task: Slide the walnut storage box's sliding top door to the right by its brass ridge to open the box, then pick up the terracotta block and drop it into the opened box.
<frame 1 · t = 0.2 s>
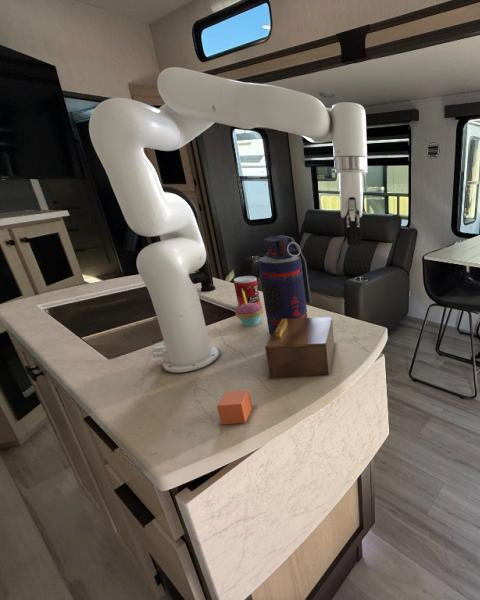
hand: (354, 240, 79), 31 cm above the countertop, tool pointing down, fingers open, 9 cm apart
block: (237, 415, 64), on the countertop
canned food: (249, 306, 122), on the countertop
grenade: (292, 332, 101), on the countertop
cupcake: (251, 323, 107), on the countertop
sliding door: (301, 328, 82), point 9 cm above the countertop, slide at 0.0 cm
storage box: (305, 359, 85), on the countertop
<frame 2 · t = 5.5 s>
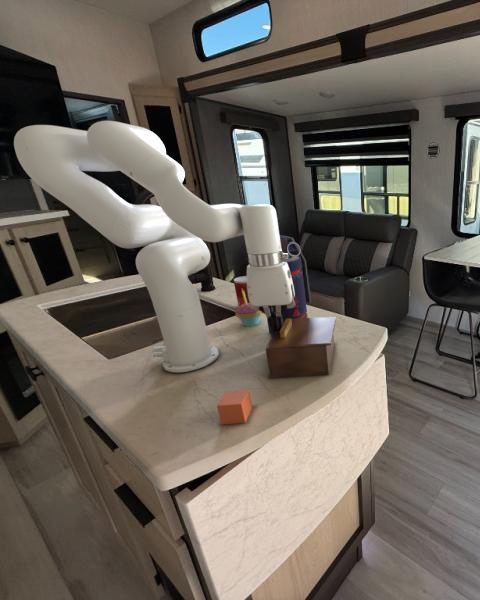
hand: (277, 329, 81), 9 cm above the countertop, tool pointing down, fingers closed
sliding door: (306, 327, 82), point 9 cm above the countertop, slide at 1.1 cm, touching gripper
everything else where it was.
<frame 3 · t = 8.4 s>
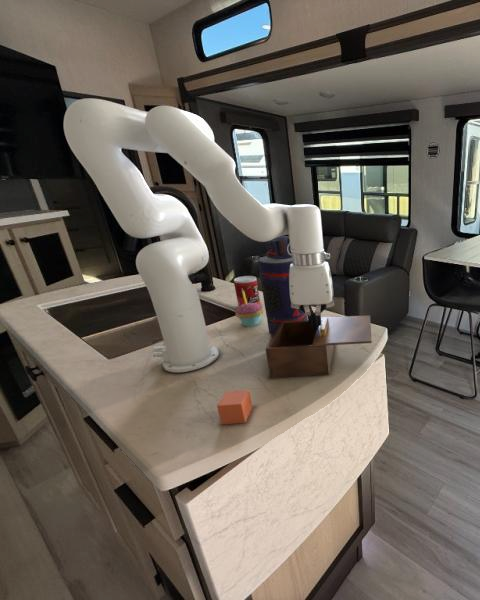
hand: (315, 327, 82), 9 cm above the countertop, tool pointing down, fingers closed
sliding door: (343, 326, 83), point 9 cm above the countertop, slide at 10.8 cm
everything else where it was.
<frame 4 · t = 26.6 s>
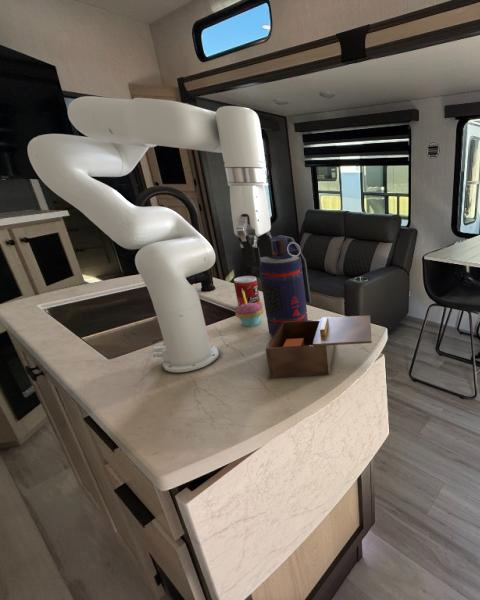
hand: (260, 261, 70), 28 cm above the countertop, tool pointing down, fingers open, 9 cm apart
block: (295, 357, 85), point 1 cm above the countertop, touching storage box
everything else where it was.
at the end: sliding door slide at 10.8 cm; block inside the target area on the storage box (2.5 cm from its centre), point 0.8 cm above the storage box's base; the gripper is holding nothing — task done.
